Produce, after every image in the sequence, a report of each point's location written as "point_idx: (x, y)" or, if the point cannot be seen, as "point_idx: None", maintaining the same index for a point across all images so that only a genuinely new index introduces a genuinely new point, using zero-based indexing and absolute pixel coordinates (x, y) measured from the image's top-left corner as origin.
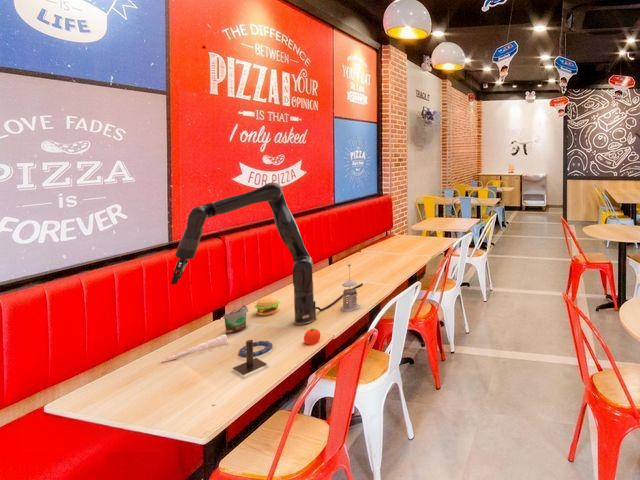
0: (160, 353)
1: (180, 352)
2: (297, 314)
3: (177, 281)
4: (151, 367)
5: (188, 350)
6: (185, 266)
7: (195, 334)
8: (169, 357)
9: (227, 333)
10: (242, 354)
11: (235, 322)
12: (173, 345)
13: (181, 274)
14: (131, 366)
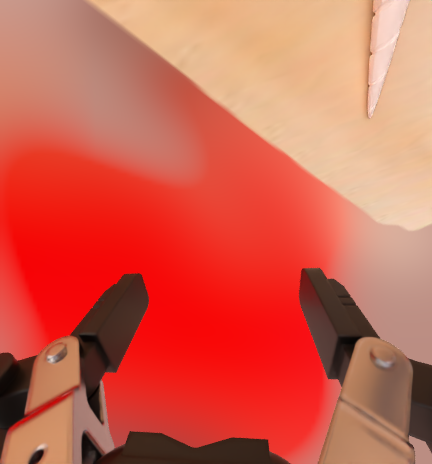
0: (288, 138)
1: (383, 61)
2: None
3: (325, 283)
4: (376, 132)
5: (400, 26)
6: (78, 448)
7: (182, 68)
8: (378, 94)
9: None
10: None
11: None
12: (248, 119)
13: (120, 305)
14: (326, 179)
